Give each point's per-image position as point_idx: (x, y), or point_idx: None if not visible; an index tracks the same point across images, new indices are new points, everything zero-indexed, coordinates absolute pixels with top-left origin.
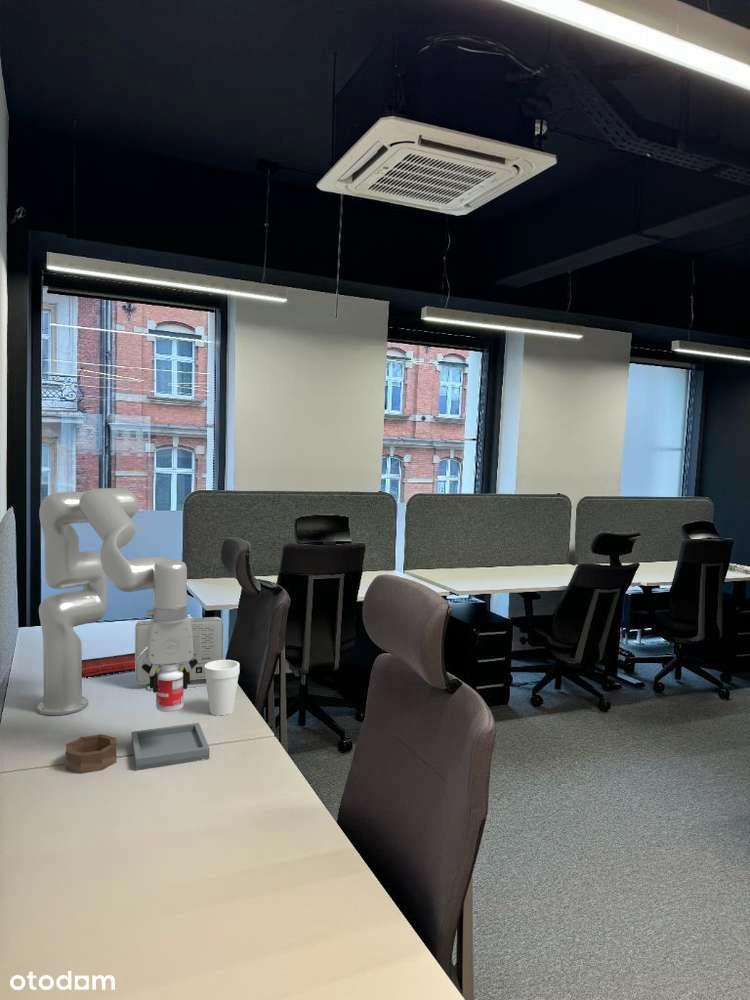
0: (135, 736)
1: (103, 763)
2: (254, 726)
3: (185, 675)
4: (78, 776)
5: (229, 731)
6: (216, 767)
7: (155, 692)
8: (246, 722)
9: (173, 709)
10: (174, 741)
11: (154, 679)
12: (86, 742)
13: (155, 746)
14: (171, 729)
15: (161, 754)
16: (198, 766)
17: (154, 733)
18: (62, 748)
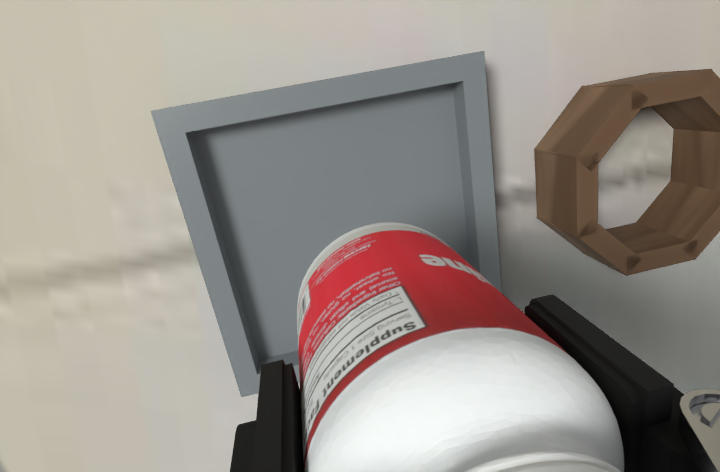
0: None
1: (592, 92)
2: (2, 411)
3: (275, 463)
4: (656, 50)
5: (113, 371)
6: (117, 8)
7: (535, 299)
8: (49, 449)
9: (357, 230)
10: None
11: (633, 361)
12: (664, 238)
13: None
14: None
15: (377, 83)
16: (206, 39)
17: None
18: (691, 287)
